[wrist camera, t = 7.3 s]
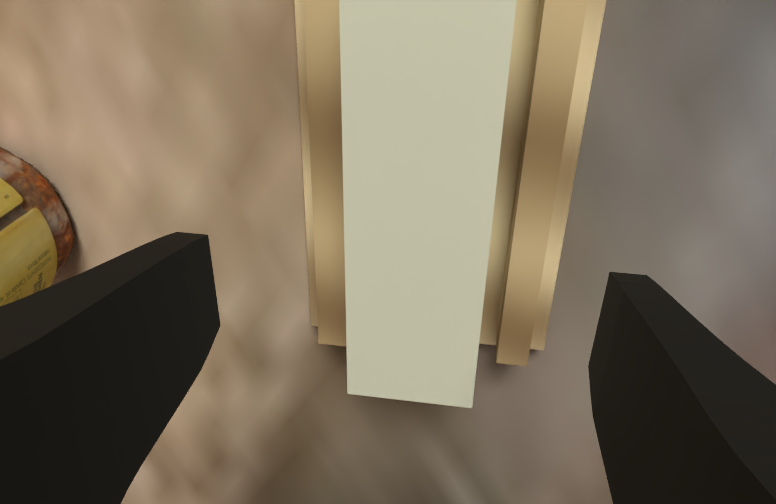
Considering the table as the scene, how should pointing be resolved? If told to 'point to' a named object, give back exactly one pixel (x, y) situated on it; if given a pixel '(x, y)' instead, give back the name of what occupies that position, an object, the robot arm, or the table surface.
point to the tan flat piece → (515, 171)
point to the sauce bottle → (29, 230)
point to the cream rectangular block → (419, 188)
